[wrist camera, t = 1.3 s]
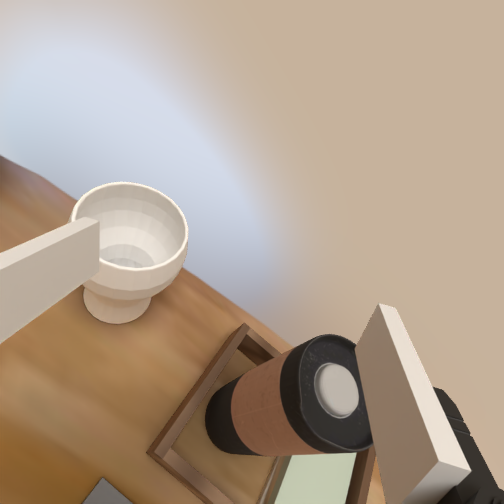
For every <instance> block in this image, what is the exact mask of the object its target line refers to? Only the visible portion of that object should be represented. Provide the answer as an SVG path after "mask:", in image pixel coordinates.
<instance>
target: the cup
mask: <svg viewBox="0 0 504 504" xmlns="http://www.w3.org/2000/svg"><path fill="white" fill-rule="evenodd" d="M82 217H87V218H90V219H94V220H97V221H100V246H99V272H98V273H97V274H95V275H94V276H92V277H91V278H90V279H88V280H87V281H86V282H84V283H83V284H82V285H83V286H84V287H85V289H84V293H83V296H84V303H85V305H86V308H87V310H88V311H89V312H90V313H91V314H92V315H93V316H94V317H96V318H97V319H99V320H100V321H103V322H107V323H112V324H121V323H127V322H130V321H132V320H135V319H137V318H138V317H139V316H141V315H142V314H143V313H144V312H145V311H146V309H147V308H148V306H149V304H150V301H151V297H152V296H154V295H156V294H157V293H159V292H160V291H162V290H163V289H165V288H166V287H167V286H169V285H170V284H171V283H172V281H173V280H174V279H175V278H176V276H177V275H178V273H179V271H180V269H181V268H182V266H183V263H184V261H185V258H186V255H187V245H188V225H187V222H186V218H185V216H184V215H183V213H182V211H181V210H180V208H179V207H178V206H177V205H176V204H175V203H174V202H173V200H172V199H171V198H169V197H168V196H166V195H165V194H163V193H162V192H160V191H158V190H155V189H153V188H151V187H149V186H146V185H142V184H137V183H132V182H131V183H130V182H115V183H107V184H104V185H101V186H98V187H96V188H93V189H92V190H90V191H89V192H87V193H86V194H84V195H83V196H82V197H81V198H80V199H79V201H78V202H77V203H76V205H75V206H74V208H73V211H72V213H71V216H70V218H69V220H68V223H67V224H69V223H71V222H73V221H75V220H78V219H80V218H82Z"/></svg>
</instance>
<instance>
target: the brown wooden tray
mask: <svg viewBox="0 0 504 504" xmlns="http://www.w3.org/2000/svg"><path fill="white" fill-rule="evenodd" d="M237 348H238V349H239V350H240V351H241V352H242V353H244V354H245V355H246V356H247V357H248V358H249V359H251V360H252V361H253V362H254V363H255V364H256V365H258V366H259V365H261V364H263V363H265V362H267V361H269V360H271V359H273V358H275V357H277V356H279V355H281V353H279V352H278V351H277V350H276V349H275V348H274V347H272V346H271V345H270V344H269V343H268V342H267V341H265V340H264V339H263V338H262V337H261V336H259V335H258V334H257V333H256V332H255V331H254V330H252V329H251V328H250V327H249V326H248V325H247V324H245V323H244V324H242V325H241V326H240V327H239V328H238V329H236V330H235V331H234V332H233V333H232V334H231V335H230V336H229V338H228V339H227V340H226V342H225V343H224V345H223V346H222V347H221V349H220V350H219V352H218V353H217V354H216V356H215V357H214V359H213V360H212V361H211V363H210V364H209V366H208V367H207V368H206V370H205V371H204V373H203V374H202V375H201V377H200V378H199V380H198V381H197V382H196V384H195V385H194V386H193V388H192V389H191V391H190V392H189V393H188V395H187V396H186V398H185V399H184V400H183V402H182V403H181V405H180V406H179V407H178V409H177V410H176V412H175V413H174V414H173V416H172V417H171V419H170V420H169V421H168V423H167V424H166V426H165V427H164V428H163V430H162V431H161V433H160V434H159V435H158V437H157V438H156V440H155V441H154V442H153V444H152V445H151V447H150V448H149V449H148V451H147V452H146V453H147V454H148V455H150V456H151V457H152V458H153V459H154V460H155V461H157V462H158V463H159V464H160V465H161V466H162V467H163V468H165V469H166V470H167V471H168V472H169V473H170V474H172V475H173V476H174V477H175V478H176V479H177V480H178V481H180V482H181V483H182V484H183V485H184V486H185V487H187V488H188V489H189V490H190V491H191V492H192V493H193V494H195V495H196V496H197V497H198V498H199V499H200V500H202V501H203V502H204V503H205V504H235V503H233V502H232V501H231V500H230V499H229V498H228V497H227V496H225V495H224V494H223V493H222V492H221V491H220V490H218V489H217V488H216V487H215V486H214V485H213V484H211V483H210V482H209V481H208V480H207V479H206V478H205V477H203V476H202V475H201V474H200V473H199V472H198V471H196V470H195V469H194V468H193V467H192V466H191V465H189V464H188V463H187V462H186V461H185V460H184V459H183V458H181V457H180V456H179V455H178V454H177V453H176V452H174V451H173V450H172V449H171V448H170V447H171V446H172V444H173V443H174V441H175V440H176V438H177V437H178V435H179V434H180V432H181V431H182V429H183V428H184V427H185V425H186V424H187V422H188V421H189V419H190V418H191V416H192V415H193V413H194V412H195V410H196V409H197V407H198V406H199V404H200V403H201V401H202V400H203V398H204V397H205V395H206V394H207V392H208V391H209V389H210V388H211V386H212V385H213V383H214V382H215V380H216V379H217V377H218V376H219V374H220V373H221V371H222V370H223V368H224V367H225V365H226V364H227V362H228V361H229V359H230V358H231V356H232V355H233V353H234V352H235V350H236V349H237ZM375 456H376V452H375V447H374V445H373V446H371V447H370V448H368V449H367V450H364V451H361V452H357V453H356V458H355V462H354V466H353V471H352V475H351V479H350V484H349V488H348V492H347V497H346V501H345V504H366V501H367V496H368V491H369V486H370V481H371V476H372V471H373V466H374V461H375Z"/></svg>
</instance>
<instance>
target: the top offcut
mask: <svg viewBox="0 0 504 504" xmlns="http://www.w3.org/2000/svg"><path fill="white" fill-rule="evenodd" d="M356 453H357V452H356ZM356 453H339V454H314V455H289V456H286V457H285V459H284V462H283V464H282V467H281V470H280V472H279V475H278V478H277V480H276V483H275V485H274V488H273V491H272V493H271V496H270V498H269V501H268V504H345V501H346V497H347V492H348V488H349V484H350V479H351V475H352V471H353V466H354V462H355V458H356Z"/></svg>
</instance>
